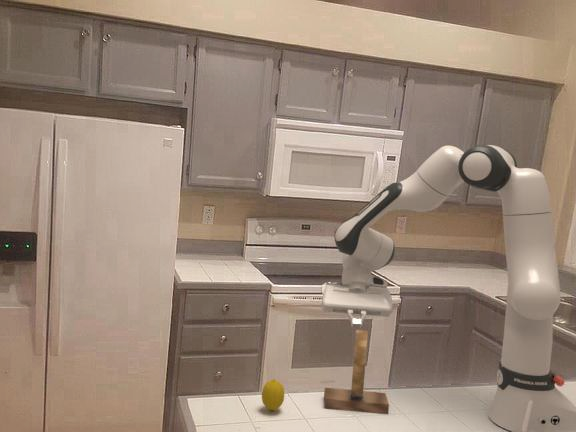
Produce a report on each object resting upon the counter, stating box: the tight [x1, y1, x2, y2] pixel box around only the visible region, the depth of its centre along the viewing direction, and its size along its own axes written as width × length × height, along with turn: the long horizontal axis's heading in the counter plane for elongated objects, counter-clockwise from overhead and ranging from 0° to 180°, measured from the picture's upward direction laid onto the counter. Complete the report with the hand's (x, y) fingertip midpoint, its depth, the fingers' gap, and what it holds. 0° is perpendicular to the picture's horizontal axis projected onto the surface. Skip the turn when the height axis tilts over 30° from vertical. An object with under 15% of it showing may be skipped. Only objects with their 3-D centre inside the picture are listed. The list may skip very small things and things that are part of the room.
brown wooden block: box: [323, 387, 390, 415], centre depth 135 cm, size 16×7×3 cm, turn 87°
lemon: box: [261, 378, 285, 412], centre depth 128 cm, size 6×6×8 cm
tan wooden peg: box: [350, 329, 369, 398], centre depth 133 cm, size 3×3×17 cm
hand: (356, 326), depth 146 cm, fingers closed
